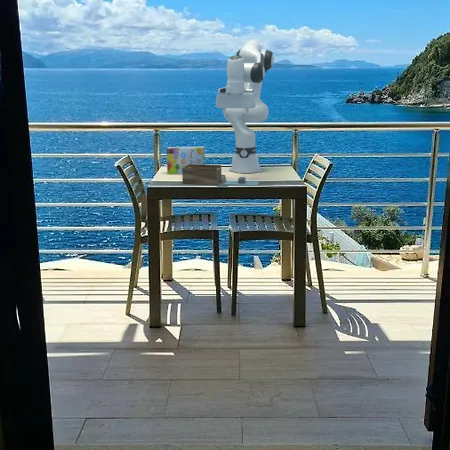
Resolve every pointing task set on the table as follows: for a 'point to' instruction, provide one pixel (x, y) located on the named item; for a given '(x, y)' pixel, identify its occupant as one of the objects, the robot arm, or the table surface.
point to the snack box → (183, 158)
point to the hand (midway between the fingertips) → (235, 117)
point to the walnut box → (201, 174)
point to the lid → (242, 182)
